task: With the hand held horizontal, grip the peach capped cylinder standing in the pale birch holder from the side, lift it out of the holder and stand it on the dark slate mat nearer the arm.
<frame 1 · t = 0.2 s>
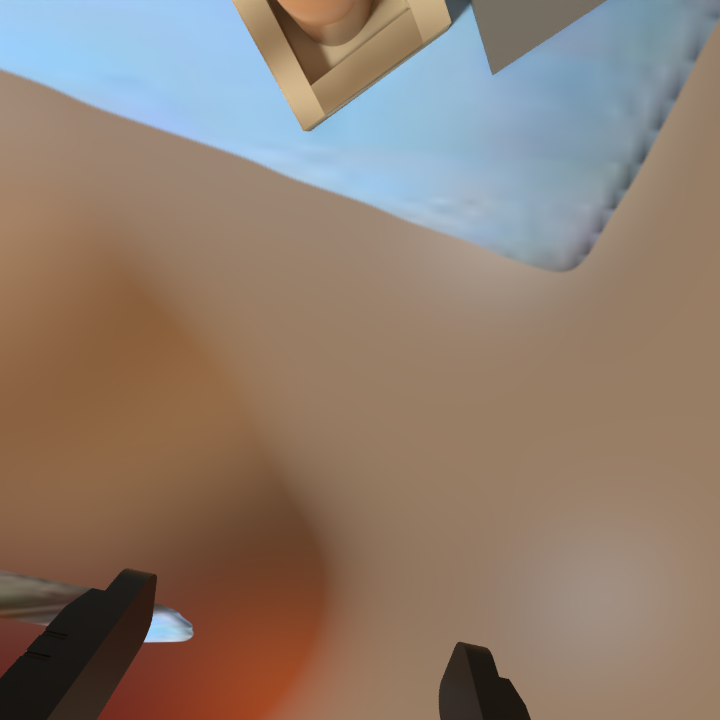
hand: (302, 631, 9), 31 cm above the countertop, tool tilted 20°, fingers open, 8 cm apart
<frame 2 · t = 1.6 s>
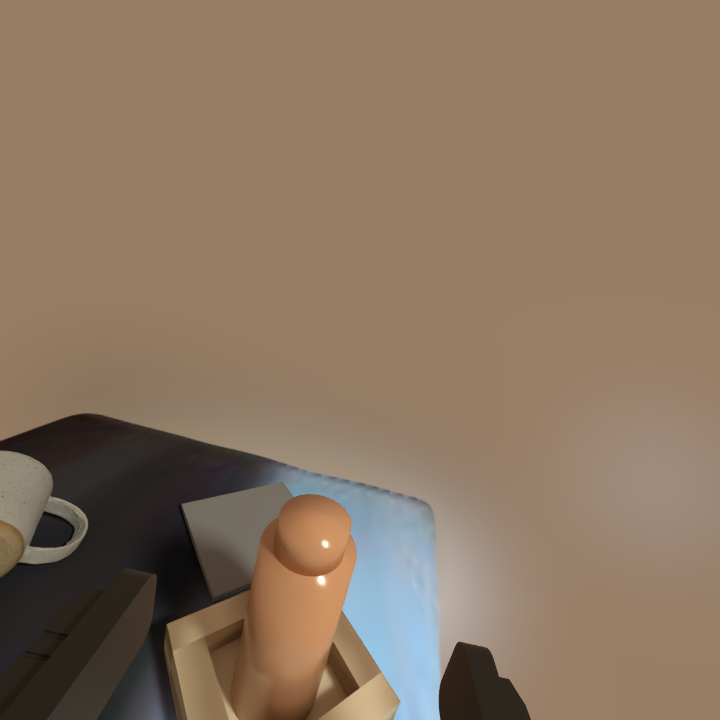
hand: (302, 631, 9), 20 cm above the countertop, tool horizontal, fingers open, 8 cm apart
peach capped cylinder: (276, 682, 25), point 1 cm above the countertop, touching holder
ceramic mug: (4, 552, 29), on the countertop
mat: (254, 531, 37), on the countertop
holder: (274, 687, 25), on the countertop
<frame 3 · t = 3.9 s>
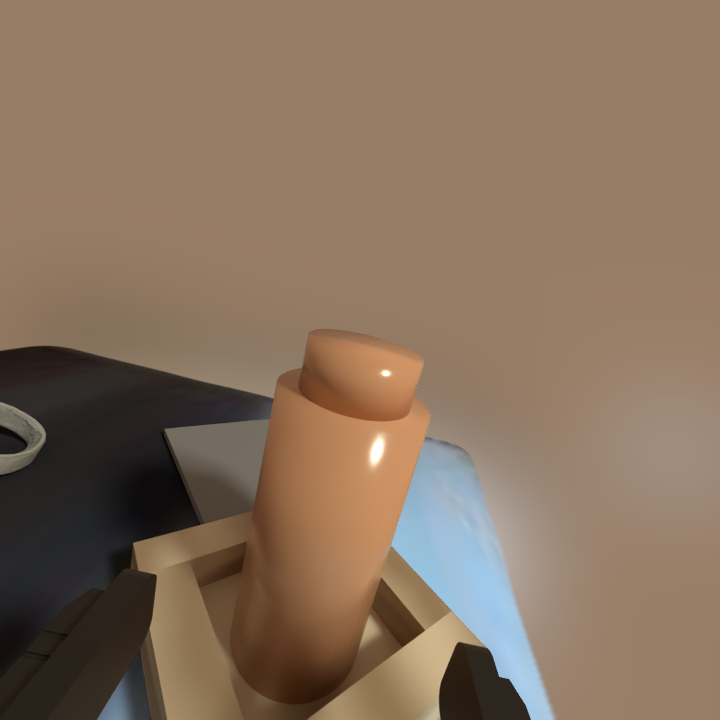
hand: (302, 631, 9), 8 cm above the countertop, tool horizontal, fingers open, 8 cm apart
peach capped cylinder: (297, 627, 17), point 1 cm above the countertop, touching holder
mat: (258, 461, 29), on the countertop
holder: (295, 635, 17), on the countertop
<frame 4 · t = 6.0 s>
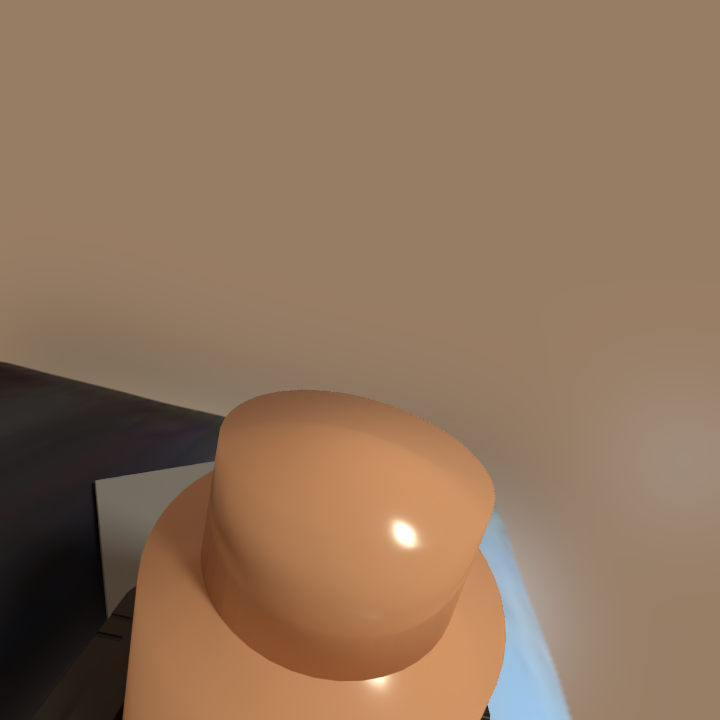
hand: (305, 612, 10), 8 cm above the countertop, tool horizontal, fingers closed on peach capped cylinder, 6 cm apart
mat: (219, 525, 22), on the countertop
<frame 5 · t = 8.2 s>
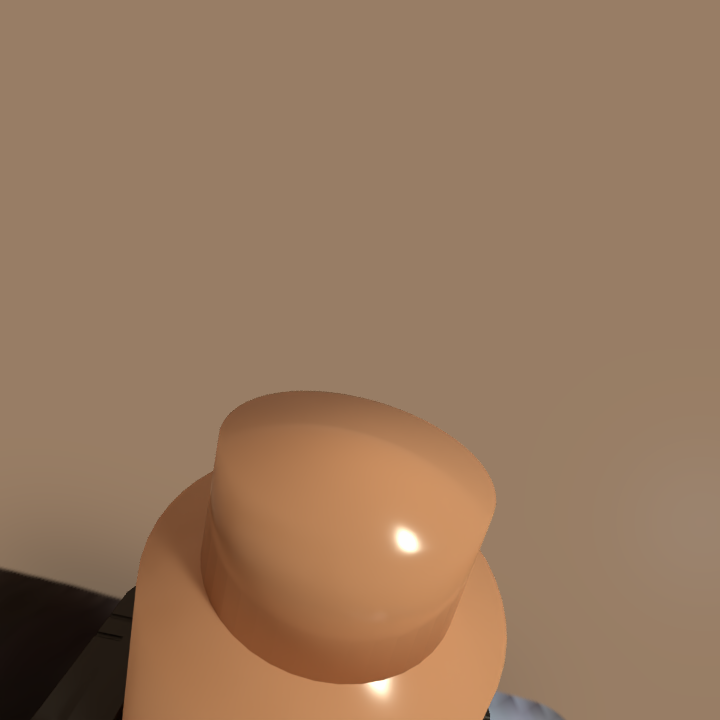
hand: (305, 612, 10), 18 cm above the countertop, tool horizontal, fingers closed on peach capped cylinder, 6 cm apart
when the fingers open (9 cm above the countertop, at t = 10.5 s): peach capped cylinder drops 1 cm, resting on mat.
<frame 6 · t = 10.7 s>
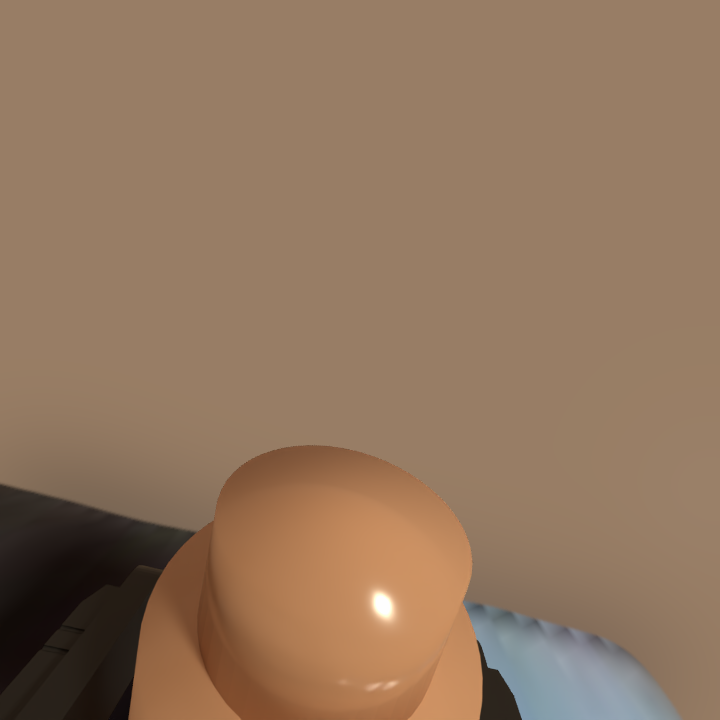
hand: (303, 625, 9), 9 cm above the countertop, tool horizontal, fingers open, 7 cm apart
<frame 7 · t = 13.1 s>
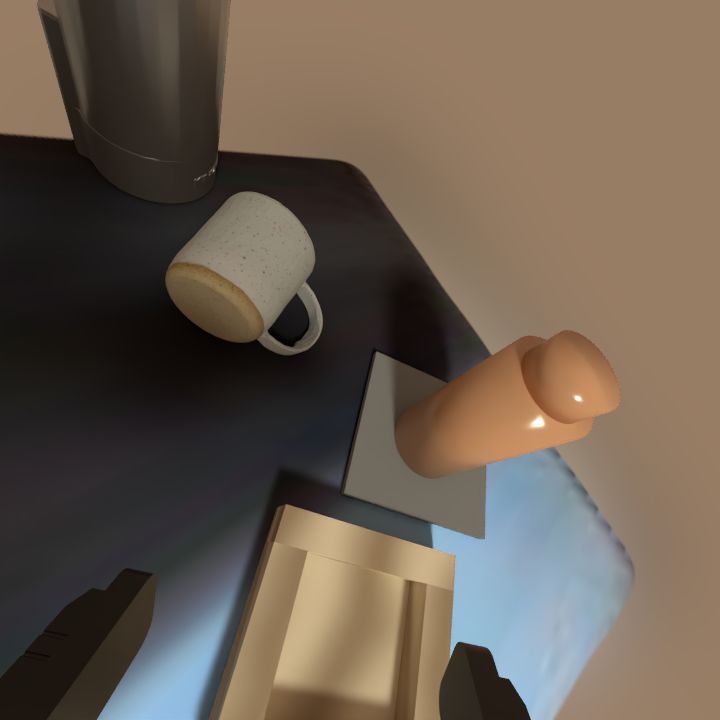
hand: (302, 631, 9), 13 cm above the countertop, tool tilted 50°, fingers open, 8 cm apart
peach capped cylinder: (427, 440, 28), point 1 cm above the countertop, touching mat
ceramic mug: (253, 309, 28), on the countertop
mat: (423, 441, 29), on the countertop
holder: (338, 642, 21), on the countertop
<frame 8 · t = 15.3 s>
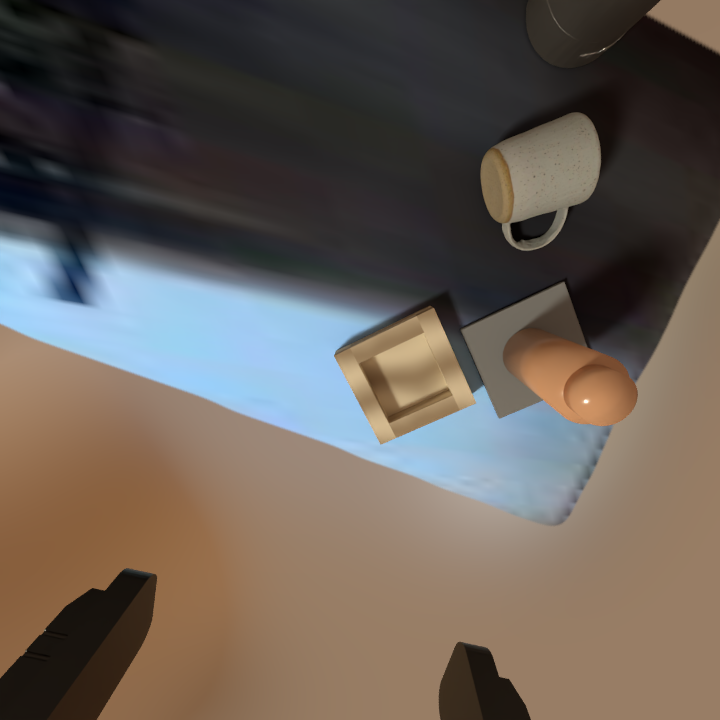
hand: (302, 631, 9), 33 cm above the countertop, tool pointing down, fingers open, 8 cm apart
peach capped cylinder: (529, 353, 40), point 1 cm above the countertop, touching mat
ceramic mug: (522, 196, 37), on the countertop
mat: (528, 352, 41), on the countertop
holder: (403, 373, 42), on the countertop
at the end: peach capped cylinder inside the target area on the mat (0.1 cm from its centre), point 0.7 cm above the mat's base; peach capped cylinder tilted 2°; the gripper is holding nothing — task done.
